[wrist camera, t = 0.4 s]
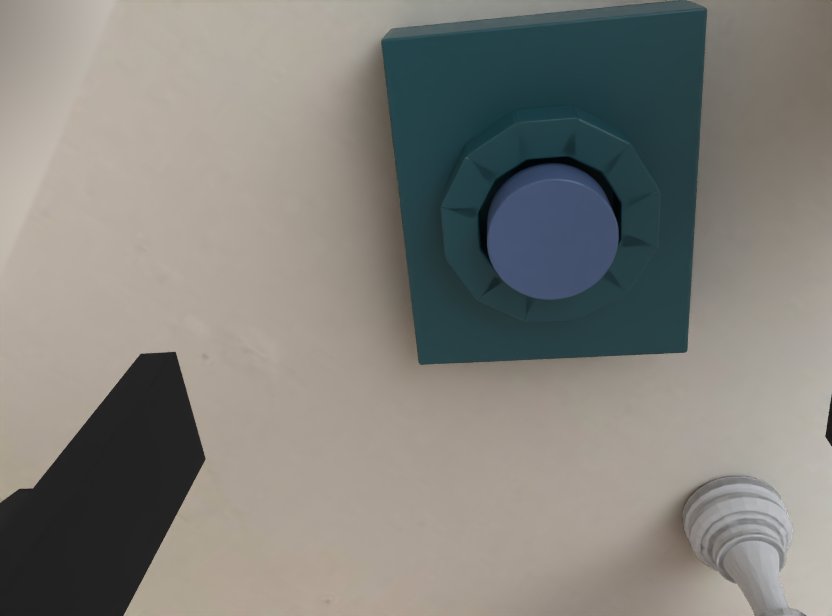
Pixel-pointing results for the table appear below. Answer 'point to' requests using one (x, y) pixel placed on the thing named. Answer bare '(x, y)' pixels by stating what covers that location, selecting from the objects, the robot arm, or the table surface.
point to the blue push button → (551, 231)
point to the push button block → (548, 143)
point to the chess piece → (743, 538)
